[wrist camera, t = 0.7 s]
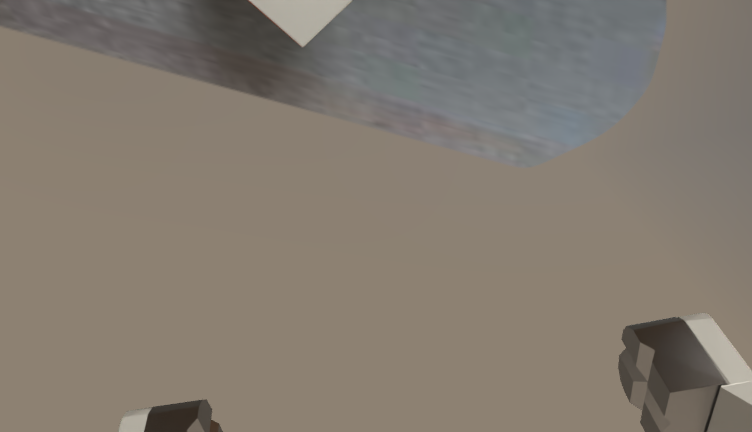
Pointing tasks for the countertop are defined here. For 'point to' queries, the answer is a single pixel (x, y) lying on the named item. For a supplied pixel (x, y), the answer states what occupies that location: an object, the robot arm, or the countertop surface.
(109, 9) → the countertop surface
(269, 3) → the small box
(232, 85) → the countertop surface
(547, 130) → the countertop surface
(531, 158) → the countertop surface
